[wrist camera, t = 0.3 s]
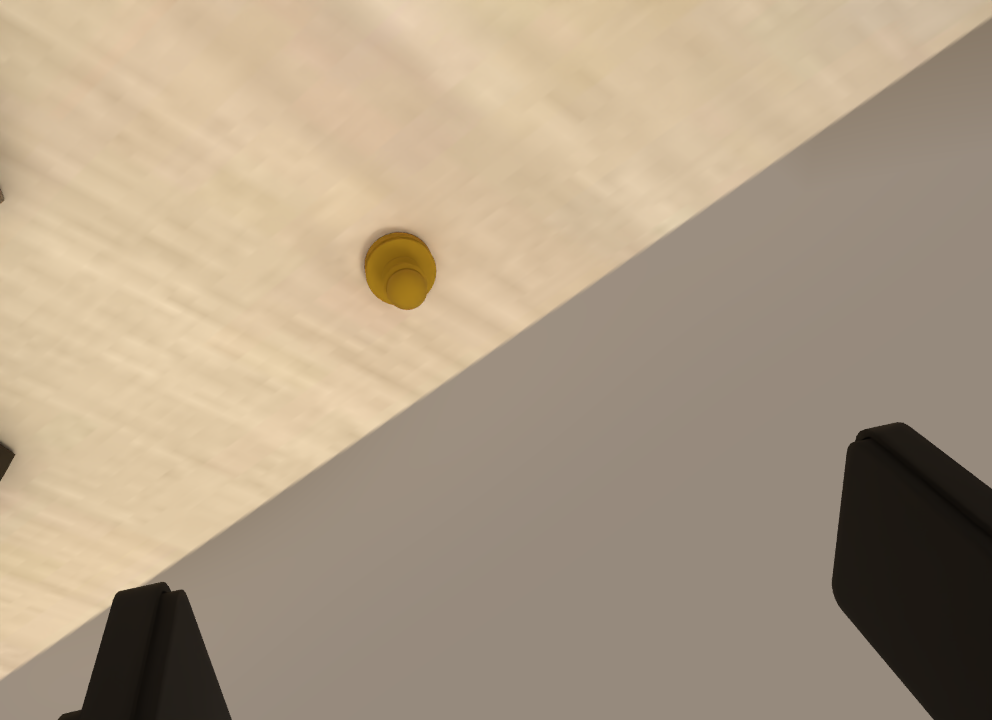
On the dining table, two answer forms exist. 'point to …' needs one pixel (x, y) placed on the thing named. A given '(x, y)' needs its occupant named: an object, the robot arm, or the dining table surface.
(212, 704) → the robot arm
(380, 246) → the chess piece
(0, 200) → the dark grey tray
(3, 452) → the food platter
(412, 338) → the dining table surface
